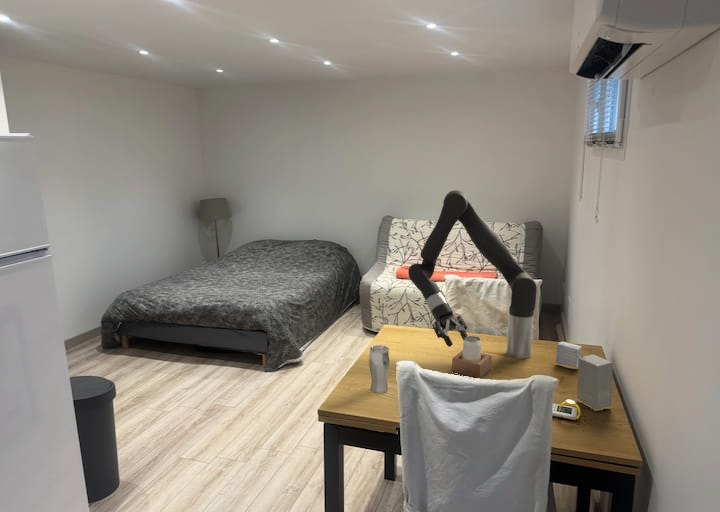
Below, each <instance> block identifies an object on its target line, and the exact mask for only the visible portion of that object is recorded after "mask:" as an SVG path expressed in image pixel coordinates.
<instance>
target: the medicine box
mask: <svg viewBox="0 0 720 512" xmlns="http://www.w3.org/2000/svg"><path fill="white" fill-rule="evenodd" d="M582 350H583V346H581V345H579V344H574V343H570V342H566V341H560V342H558V344H556V354H555V356H556V358H555V364H556V363H558V364H563V365H568V366H572V367H578V360H579V358H580V357H582V353H583V352H582Z"/></svg>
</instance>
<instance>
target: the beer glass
mask: <svg viewBox="0 0 720 512" xmlns="http://www.w3.org/2000/svg"><path fill="white" fill-rule="evenodd" d="M390 358H391V356H390V347H388V346H386V345H381V344H377V345H372V346H370V347H369V357H368V361H369V362H368V364H369V370H370V378H371V382H370V389H369V390H370V392H371V393H373V394H377V395H381V394H386V393H387V392H388V391H389V388H388V387H389V386H388V374H389V371H390V369H389V368H390V361H391V360H390Z"/></svg>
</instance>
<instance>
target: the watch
mask: <svg viewBox="0 0 720 512" xmlns="http://www.w3.org/2000/svg"><path fill="white" fill-rule="evenodd" d="M564 405H568V406H571V407H575V408H576V409H577V411H578V414H577V416H576V417H577V420H578V419H579V418H580V417H581V408H580V406H579V405H578V404H577V403H576V400H573V399H569V398H568V399H566V400H565V401H563V402H561V403H560V404H559V407H558V413H559V412H560V410H562V407H563V406H564Z"/></svg>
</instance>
